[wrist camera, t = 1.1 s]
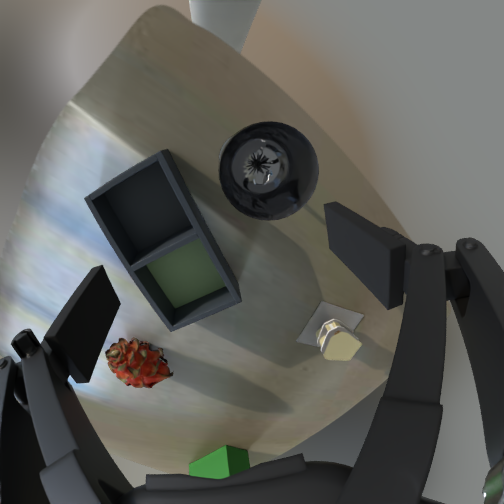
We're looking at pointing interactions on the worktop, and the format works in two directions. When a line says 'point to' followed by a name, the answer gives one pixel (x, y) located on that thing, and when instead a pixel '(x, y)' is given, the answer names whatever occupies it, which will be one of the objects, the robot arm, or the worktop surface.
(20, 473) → the robot arm
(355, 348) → the stacked layers on plate
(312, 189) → the wine glass
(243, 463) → the hardback book
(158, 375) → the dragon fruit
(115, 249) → the divided tray
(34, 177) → the worktop surface
